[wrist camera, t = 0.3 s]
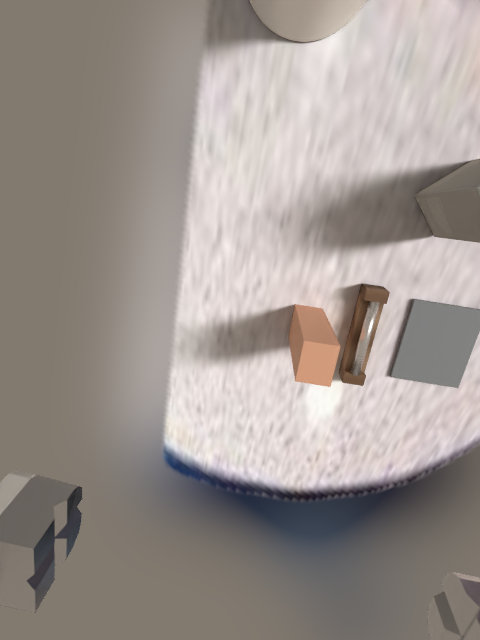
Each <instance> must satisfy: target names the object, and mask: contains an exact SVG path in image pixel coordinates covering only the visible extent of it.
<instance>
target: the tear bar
mask: <svg viewBox="0 0 480 640" xmlns="http://www.w3.org/2000/svg"><path fill="white" fill-rule="evenodd" d="M389 293H390V292H389V291H388V290H386V289H385V288H384V287H381V286H375V285H368V284H362V285H361V289H360V292H359V296H358V300H357V304H356V308H355V312H354V316H353V320H352V323H351V327H350V331H349V335H348V339H347V343H346V347H345V351H344V354H343V358H342V362H341V366H340V370H339V375H340V378H341V380H342V382H343V383H349V384H355V385H361V386H363V385H364V381H365V378H366V375H365V373H364V372H365V368H366V365H367V361H368V358H369V354H370V351H371V347H372V344H373V340H374V336H375V333H376V329H377V326H378V322H379V319H380V315H381V312H382V308H383V305H384V304H387V300H388V297H389Z"/></svg>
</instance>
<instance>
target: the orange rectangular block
mask: <svg viewBox="0 0 480 640" xmlns="http://www.w3.org/2000/svg"><path fill="white" fill-rule="evenodd" d="M289 343H290V349H291V356H292V362H293V369H294V375H295V381H298V382H304V383H310V384H316V385H322V386H328V387H330V386H331V382H332V379H333V375H334V371H335V367H336V363H337V359H338V355H339V351H340V347H341V346H340V344H339V342H338V340H337V338H336V336H335V334H334V332H333V329H332V327H331V325H330V323H329V321H328V319H327V317H326V315H325V313H324V310H323V309H321V308H315V307H308V306H302V305H296V304H295V307H294V312H293V317H292V322H291V327H290V332H289Z"/></svg>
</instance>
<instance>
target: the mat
mask: <svg viewBox="0 0 480 640" xmlns="http://www.w3.org/2000/svg"><path fill="white" fill-rule="evenodd" d="M479 331H480V309H474V308H468V307H461V306H455V305H449V304H443V303H436V302H430V301H424V300H417V299H413V301H412V305H411V308H410V311H409V314H408V318H407V321H406V324H405V327H404V331H403V334H402V337H401V340H400V344H399V347H398V350H397V353H396V357H395V360H394V363H393V366H392V370H391V373H390V376H391V377H394V378H401V379H407V380H413V381H419V382H425V383H431V384H438V385H444V386H450V387H456V388H458V387H459V384H460V382H461V379H462V376H463V374H464V371H465V368H466V366H467V363H468V360H469V358H470V355H471V352H472V350H473V347H474V344H475V342H476V339H477V336H478V334H479Z"/></svg>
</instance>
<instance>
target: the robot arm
mask: <svg viewBox="0 0 480 640" xmlns="http://www.w3.org/2000/svg"><path fill="white" fill-rule="evenodd" d="M249 1H250V3H251V5H252V7H253V9H254V11H255V13H256V14H257V16H258V17H259V18H260V20H261V21H262V22H263V23H264V24H265V25H266V26H267V27H268V28H269V29H270V30H271V31H273V32H274V33H276V34H277V35H279V36H281V37H283V38H286V39H289V40H293V41H299V42H309V41H316V40H320V39H323V38H325V37H328V36H330V35H332V34H334V33H335V32H337V31H338V30H340V29H341V28H342V27H344V26H345V25H346V24H347V23H348V22H349V21H350V20H351V19H352V18H353V17H354V16H355V14H356V13H357V12H358V11H359V9H360V8H361V7H362V6H363V5H364V4H365V3H366V2H367V1H368V0H249ZM81 500H82V487H80V486H77V485H73V484H69V483H66V482H62V481H58V480H54V479H50V478H47V477H43V476H39V475H34V474H30V473H26V472H22V471H18V470H15V471H13V472H11V473H9V474H8V475H7V476H6V477H5V478H4V479H3V480H2V481H1V482H0V605H1V606H5V607H10V608H15V609H19V610H24V611H29V612H34V613H36V611H37V609H38V608H39V606H40V604H41V602H42V601H43V599H44V597H45V596H46V594H47V592H48V590H49V589H50V587H51V585H52V583H53V582H54V580H55V579H54V578H55V577H54V576H55V566H57V565H58V564H60V563H62V562H63V561H65V560H66V559H67V557H68V555H69V554H70V552H71V550H72V548H73V546H74V543H75V541H76V539H77V536H78V534H79V530H80V525H81V518H82V517H81V515H82V513H81V512H80V510H79V509H78V507H77V506H78V504H79V503H80V501H81ZM441 583H442V586H443V588H444V592H442V593H440V594H438V595H435V596H434V597H433V599H432V601H431V603H430V605H429V608H428V620H427V622H428V629H429V635H430V639H431V640H480V578H477V577H473V576H468V575H464V574H459V573H454V572H450V573H448V574H446V575H445V577H444V579H443V580H442V582H441Z"/></svg>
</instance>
